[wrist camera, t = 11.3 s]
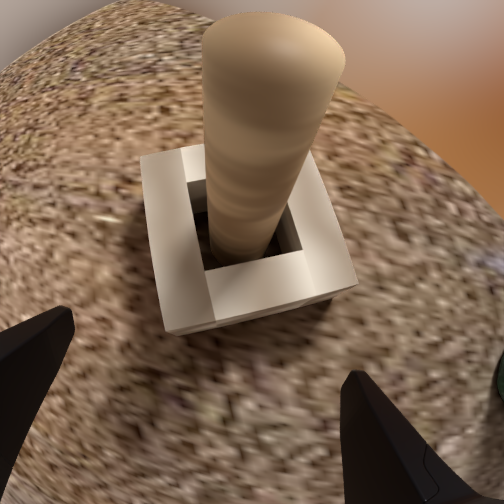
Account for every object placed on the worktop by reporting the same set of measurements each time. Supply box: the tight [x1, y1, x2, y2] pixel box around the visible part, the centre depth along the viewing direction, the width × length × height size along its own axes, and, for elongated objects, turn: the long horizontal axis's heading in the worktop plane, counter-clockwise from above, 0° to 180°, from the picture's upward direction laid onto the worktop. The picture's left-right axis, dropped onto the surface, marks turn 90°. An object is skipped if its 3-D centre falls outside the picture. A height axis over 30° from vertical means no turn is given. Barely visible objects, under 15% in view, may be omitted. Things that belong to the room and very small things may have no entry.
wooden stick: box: [202, 12, 345, 267], centre depth 15 cm, size 4×4×16 cm
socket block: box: [140, 144, 359, 336], centre depth 20 cm, size 11×11×4 cm
